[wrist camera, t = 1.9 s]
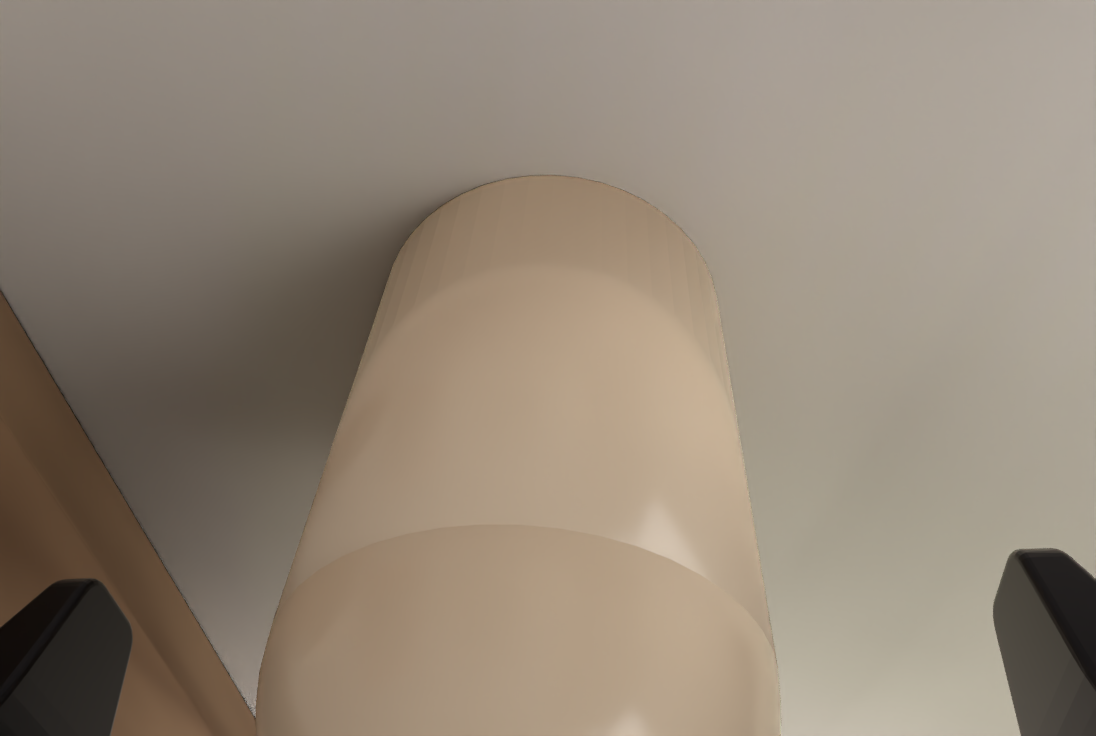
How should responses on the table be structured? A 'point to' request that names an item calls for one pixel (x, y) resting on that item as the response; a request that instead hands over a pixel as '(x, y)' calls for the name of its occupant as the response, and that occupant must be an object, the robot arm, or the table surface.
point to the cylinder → (532, 494)
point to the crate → (98, 555)
